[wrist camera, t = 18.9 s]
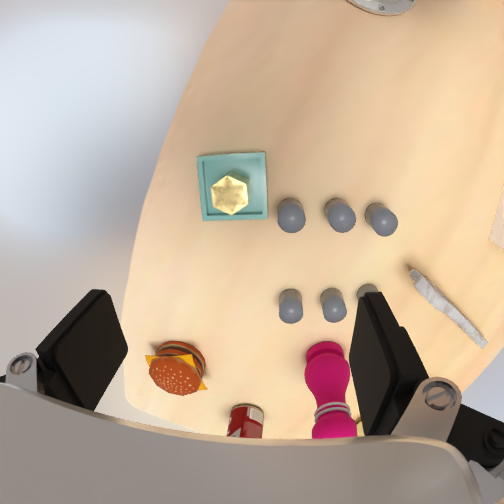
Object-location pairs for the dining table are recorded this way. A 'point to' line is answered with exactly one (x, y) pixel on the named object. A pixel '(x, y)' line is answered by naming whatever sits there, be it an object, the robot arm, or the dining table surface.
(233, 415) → the soda can
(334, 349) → the pepper mill
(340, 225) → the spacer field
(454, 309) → the silver wrench
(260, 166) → the teal dish
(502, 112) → the dining table surface
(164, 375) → the hamburger
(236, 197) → the gold hexagonal prism
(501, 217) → the milk
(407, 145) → the dining table surface
